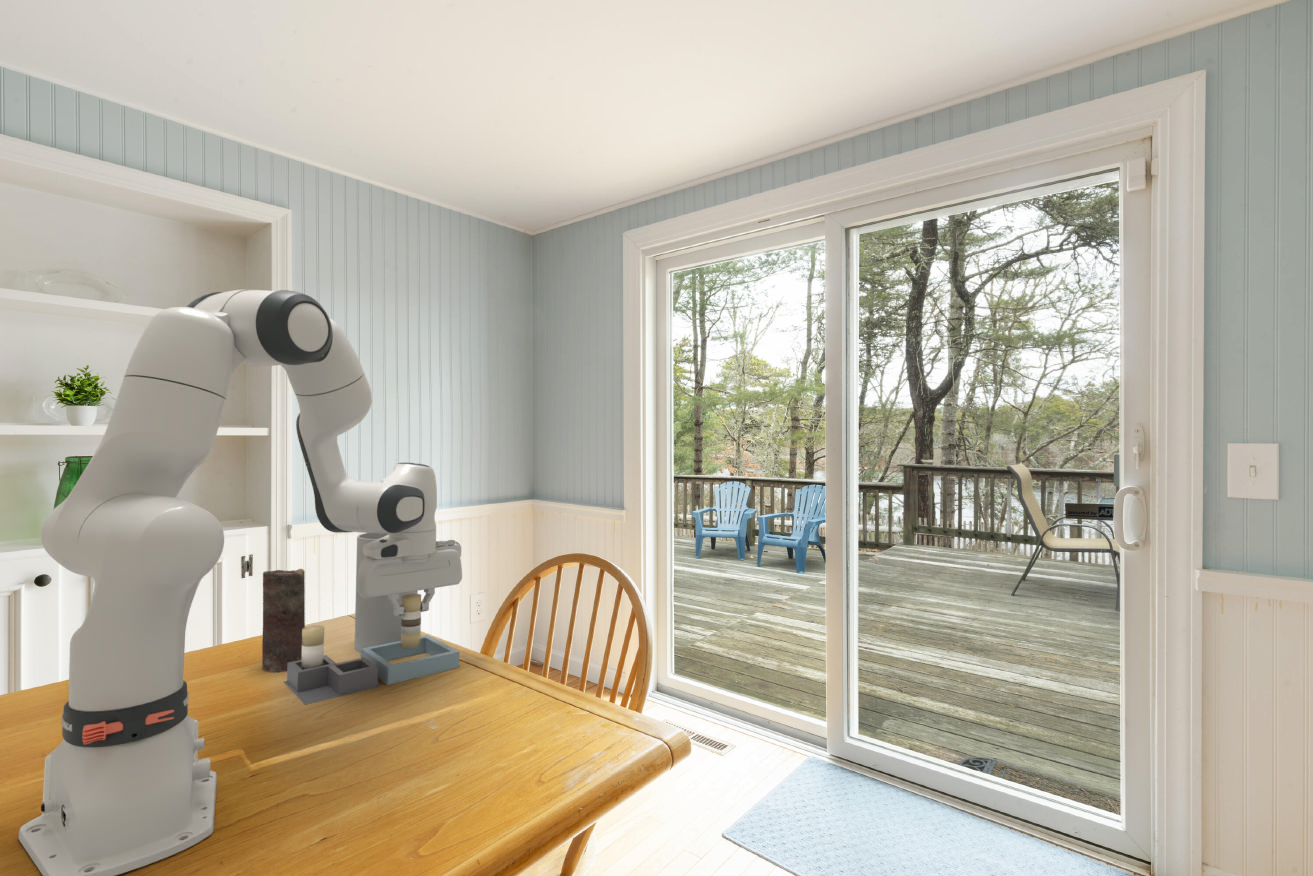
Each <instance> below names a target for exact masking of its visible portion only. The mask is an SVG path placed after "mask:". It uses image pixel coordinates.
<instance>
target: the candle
mask: <svg viewBox="0 0 1313 876" xmlns="http://www.w3.org/2000/svg"><path fill="white" fill-rule="evenodd" d="M305 574H306V573H305V569H303V568H298V569H297V570H284V569H276V570H268V571H264V572H263V573H262V642H261V643H262V645H261V646H262V647H261V649H262V653H261V654H262V656H261V657H262V659H261V661H262V664H261V665H262V670H263V671H264V672H266V673H284V672H285V673H287V663H289V662H294V661H299V660H301V657H302V629H303V628H305V627H306V625H305V624H306V623H305V622H306V617H305V616H306V615H305V613H306V612H305V610H306V608H305V597H306V596H305V594H306V590H305V588H306V587H305V583H306V582H305V578H306V577H305V576H306V575H305Z"/></svg>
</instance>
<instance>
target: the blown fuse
mask: <svg viewBox="0 0 1313 876" xmlns="http://www.w3.org/2000/svg"><path fill="white" fill-rule="evenodd" d="M421 601H422V594H421V593H418V594H406V595H403V596H402V606H404V615H402V617H401V648H404V649H412V648H417V647H419V646H420V637H421V630H422V629H421V624H422V612H421Z"/></svg>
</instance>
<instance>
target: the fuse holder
mask: <svg viewBox="0 0 1313 876" xmlns="http://www.w3.org/2000/svg"><path fill="white" fill-rule="evenodd" d="M286 673H287V675H286V681H283V684H284V685H286V686H287V688H288V689H289V690H290V691H291V692H293V694H294V695H295V696H296V698H298V700H300V701H301V702H302V703H303V705H305V706H307V705H311V704H314V703H319V702H322V701H323V702H324V701H327V700H331V699H335V698H339V697H343V696H344V697H345V696H347V695H351V694H355V693H356V694H357V693H359V692H364V691H367V690H371V689H375V688H380V687H381V685H380V684H379V683H378V677H377V674H378V667H377V666H376V665H374V664H373V663H372V662H370V661H369V660H367V659H366V658H365V657H364V658H361V657H359V658H356V659H351V660H346V661H345V660H344V661H341V662H336V661H334V659H332V658H330V657H329V656H328V655H327V654H324V661H323V666H318V667H313V668H309V669H304V670H302V669H301V660H299V661H294V662H289V663H287V671H286Z"/></svg>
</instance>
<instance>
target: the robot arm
mask: <svg viewBox="0 0 1313 876" xmlns="http://www.w3.org/2000/svg"><path fill="white" fill-rule="evenodd" d="M152 317H153V318H151V320H150V321H149V323H148V325H147V326H146V328H145V330H144V331H143V333H142V335H141V336H140V338H139V340H138V342H137V344H136V347H135V349H134V350H133V352H132V355H131V358H130V359H129V362H128V364H127V367H126V369H125V373H124V376H123V378H122V382H121V386H120V389H119V392H118V395H117V397H116V401H115V403H114V406H113V409H112V412H111V415H110V418H109V421H108V423H107V427H106V430H105V432H104V434H103V436H102V439H101V441H100V442H99V445H98V446H97V448H96V450H95V452H94V454H93V455H92V457H91V459H90V460H89V462H88V464H87V466H85V469H84V470H83V471H82V473H81V474H80V477H79V478H78V480H77V481H76V483H75V485H74V486H73V488H72V489H71V491H70V493H69V494H68V496H67V497H66V498H65V499H64V500H63V501H62V502H60V504H59V505H56V507H54V508H53V509H52V510H51V512H50V513H49V514H48V516H46V518H45V520H44V522H43V525H42V527H41V534H40V535H41V544H42V546H43V549H44V550H45V552H46V553H47V554H48V555H49V557H51V558H52V559H53V560H54V561H55V562H57V563H58V564H59V565H60V566H61V567H63V569H66V570H67V571H69V572H72V573H74V574H77V575H80V576H85V577H89V578H93V582H94V588H93V593H92V597H91V601H90V603H89V606H88V610H87V613H86V615H85V617H84V620H83V623H82V624H81V625H80V627H79V628H77V630H75V632H74V633H73V634H72V636H71V639H70V643H69V663H68V664H69V666H68V667H69V669H68V672H69V673H68V701H66V703H65V704H64V705H63V712H62V714H61V715H62V716H61V727H62V730H61V731H62V732H61V734H62V741H61V743H59V744H58V746H57V747H56V748H54V750H52V751H51V752H50V753H49V754H48V755H47V756H46V757H45V759H44V770H43V772H44V773H43V786H42V787H43V788H42V789H43V790H42V803H41V805H40V811H41V815H39V816H37V817H35V818H34V819H32V820H29V821H28V822H26V823H24V824H23V825H21V826H20V828H19V831H18V840H19V842H20V843H21V845H22V847H23V848H24V849H25V851H26V852H27V854H28V855H29V857H30V858H31V860H32V862H33V863H34V865H35V866H36V867H37V869H38V870H39V872H40V874H41V875H42V876H118V875H121V874H124V873H127V872H130V871H133V870H136V869H139V868H142V867H145V866H148V865H150V864H152V863H156V862H158V861H160V860H161V861H162V860H163V859H166V858H168V857H170V856H173V855H175V854H178V853H179V852H182V851H184V850H187V849H188V848H190V847H192V846H194V845H196V844H198V843H200V842H201V841H203V840H204V839H206V838H209V836H211V835H212V834H213V833H214V824H215V814H216V812H215V811H216V798H217V797H216V796H217V785H218V784H217V783H218V777H217V772H216V771H214V770H211V757H205V758H201V759H198V751H202V750H205V744H206V743H205V742H206V741H205V738H204V737H201V738H199V720H196V719H195V718H193V717H191V716H189V715H188V714H189V705H188V704H189V701H190V700H189V699H190V696H189V691H188V684H187V683H188V682H187V681H185V680H184V674H185V673H184V672H185V671H184V670H185V651H186V650H185V647H186V646H185V645H186V631H187V623H188V619H189V615H190V614H189V613H190V610H191V607H192V604H193V601H194V598H195V595H196V592H197V590H198V587H199V585H200V583H201V581H202V579H203V578H204V577H206V575H207V574H209V572H211V571H212V569H213V568H214V567H215V566H216V564H217V563H218V562H219V560H220V558H221V556H222V553H223V550H224V545H225V533H224V530H223V527H222V525H221V522H220V521H219V519H217V517H216V516H215V515H214V514H213V513H212V512H210V511H208V510H207V509H205V508H203V507H201V506H199V505H197V504H195V503H193V502H190V501H189V500H186V499H183V498H181V497H178V495H179V493H180V492H181V490H182V488H183V487H184V485H185V484H186V482H187V481H188V479H189V478H190V477H191V475H192V474H193V473H195V470H197V469H198V468H199V467H200V466H201V465H202V464H204V463H205V462H206V461H207V459H208V458H209V457H210V456H211V454H212V452H213V449H214V445H215V441H216V438H217V434H218V431H219V427H220V423H221V419H222V417H223V413H224V410H225V406H226V402H227V398H228V394H229V390H230V387H231V381H232V378H233V374H234V372H235V371H236V369H237V368H238V367H239V366H240V365H250V366H255V367H271V366H272V367H273V366H281V368H283V369H284V371H285V372H286V375H287V378H288V379H289V381H288V382H289V383H290V385H291V388H292V390H293V392H294V395H295V397H296V399H297V403H298V406H299V407H298V408H299V414H298V415H297V417H296V421H295V422H296V423H295V426H296V435H297V440H298V441H299V447H300V450H301V453H302V456H303V460H304V463H305V467H306V470H307V473H308V476H309V479H310V483H311V485H312V490H313V495H314V497H313V498H314V509H315V513H316V516H317V519H318V521H319V524H321V526H322V527H323V528H325V530H327V531H329V532H331V533H335V534H337V533H339V534H340V533H361V534H364V533H380V534H389V535H387V536H385V537H382V538H380V539H377V540H375V541H372V542H370V543H367V544H365V545H364V546H363V553H364V554H365V555H366V556H367V557H365V558H364V559H363V560H362V561H361V563H360V565H359V570H358V577H357V592H358V593H359V594H360V595H361V596H362V597H364V598H373V597H379V596H386V595H388V599H389V601H390V602H391V604H392V605H393V606H394V610H393V613H394V615H395V616H401V615H404V606H402V605H399V604H398V602H397V600H396V599H399V593H405V592H412V591H423V593H425V595H424V596H423V599H421V613H423V612H424V613H425V612H428V611H429V610H430V603H431V601H432V599H433V597H434V595H435V593H436V590H435V589H437V588H442V587H443V588H445V587H450V586H455V585H459V584H460V583H461V582H462V579H463V568H462V561H461V558H462V546H461V544H460V543H459V542H458V541H455V540H454V539H449V540H438V541H437V524H436V520H435V517H436V515H435V514H436V512H437V507H438V504H437V503H438V490H437V480H436V475H435V471H434V469H433V467H431V466H429V465H426V464H423V463H415V462H399V463H395V464H394V467H393V470H392V471H391V473H389V474H388V475H387V476H386V477H383V478H381V479H380V480H379V481H366V480H365V481H364V480H363V481H362V480H361V481H360V480H357V479H354V478H352V477H350V476H349V475H348V474H347V473H346V471H345V470H346V469H345V466H344V463H343V459H342V455H341V452H340V447H339V444H338V436H340V435H342V434H344V433H346V432H348V431H350V430H351V429H353V428H354V427H355V426H357V425H358V424H360V423H361V422H362V421H363V420H364V418H365V417H367V414H368V413H369V411H370V409H371V406H372V403H373V398H372V392H371V387H370V384H369V382H368V378H367V376H366V374H365V371H364V368H363V367H362V364H361V361H360V360H359V357H358V355H357V353H356V352H355V350H354V347H353V345H352V344H351V342H350V340H349V339H348V337H347V336H346V334H345V332H344V330H343V329H342V328H341V326H340V325H339V324H338V323H337V322H336V321H335V320H334V319H333V318H330V317H329V315H328V313H327V312H326V310H325V308H324V307H323V306H322V304H320V303H319V302H318V301H317V300H316V299H315V298H313V297H312V296H310V295H308V294H305V293H302V292H298V291H296V290H295V291H294V290H289V289H280V290H270V289H269V290H266V289H265V290H263V289H255V288H244V289H234V290H229V291H214V292H210V293H209V292H208V293H206V294H203V295H201V296H200V297H197V298H195V299H194V300H193V301H191V302H189V304H187V306H176V307H175V306H173V307H168V308H166V309H162V310H160V311H159V312H157V313H156V314H155V315H154V316H152Z"/></svg>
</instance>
